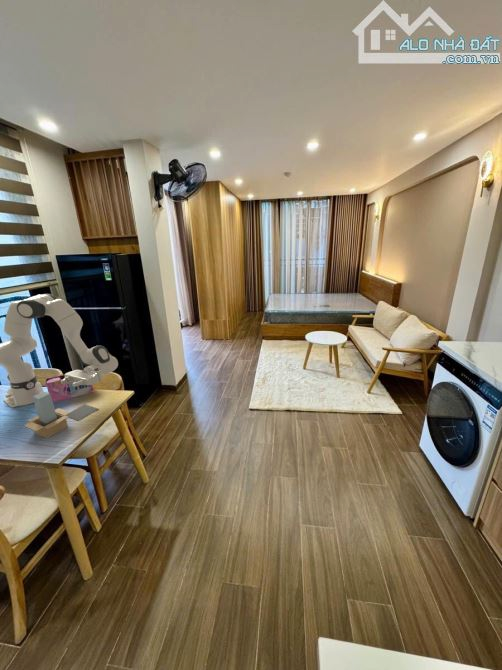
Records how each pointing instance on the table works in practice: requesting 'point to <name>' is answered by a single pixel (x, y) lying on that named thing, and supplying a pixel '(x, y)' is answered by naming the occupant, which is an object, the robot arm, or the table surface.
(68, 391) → the pink multipack
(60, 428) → the carton
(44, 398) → the pale upright canister
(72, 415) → the mat
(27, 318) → the robot arm
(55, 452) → the table surface
